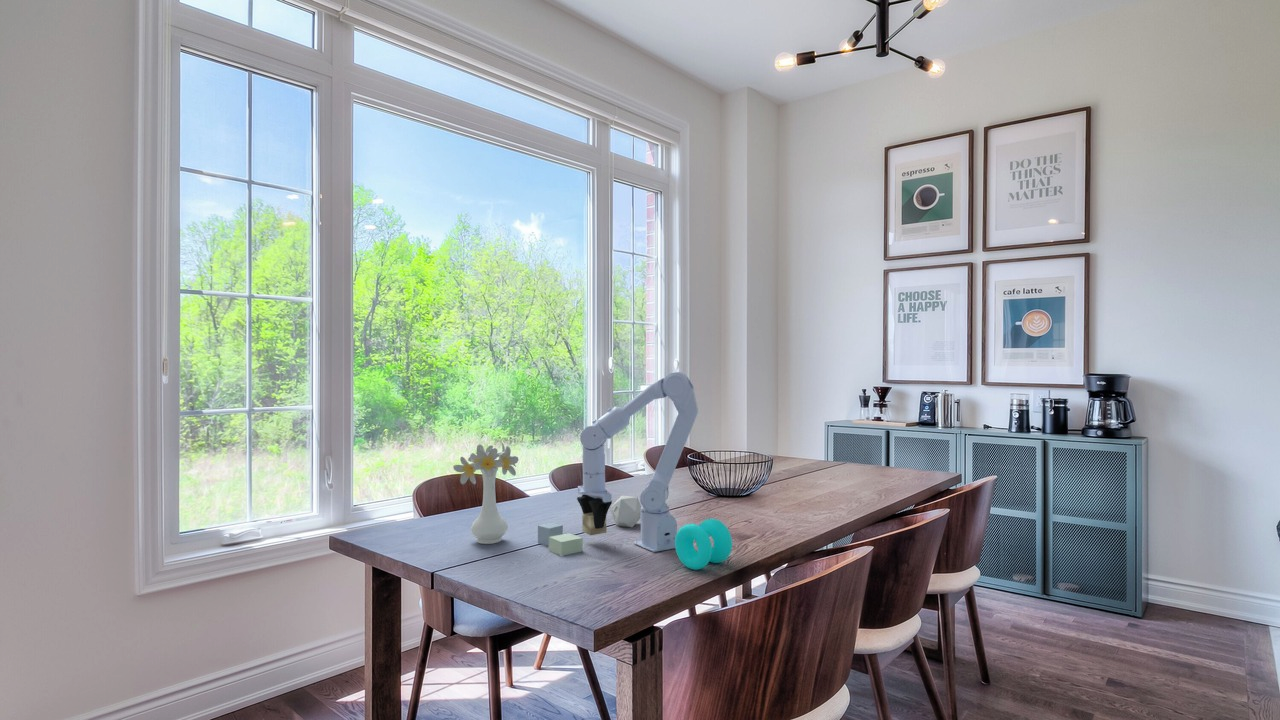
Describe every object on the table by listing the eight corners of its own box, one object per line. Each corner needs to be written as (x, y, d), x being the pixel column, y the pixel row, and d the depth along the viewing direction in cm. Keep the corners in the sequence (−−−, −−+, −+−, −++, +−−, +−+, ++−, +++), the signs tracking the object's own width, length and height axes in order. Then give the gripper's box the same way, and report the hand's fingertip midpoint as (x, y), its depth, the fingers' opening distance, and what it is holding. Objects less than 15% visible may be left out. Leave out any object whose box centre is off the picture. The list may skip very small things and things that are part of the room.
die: (612, 523, 194) (601, 499, 189) (638, 506, 196) (627, 482, 191) (626, 540, 187) (614, 516, 182) (652, 522, 190) (641, 498, 184)
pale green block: (582, 552, 163) (582, 537, 163) (561, 556, 159) (561, 541, 159) (569, 547, 168) (569, 533, 168) (548, 551, 164) (548, 536, 164)
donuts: (734, 565, 151) (734, 521, 151) (705, 575, 144) (705, 529, 144) (701, 556, 158) (701, 514, 158) (672, 565, 151) (672, 521, 151)
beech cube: (606, 532, 169) (606, 515, 169) (590, 535, 167) (590, 517, 167) (598, 529, 173) (597, 511, 173) (582, 531, 171) (582, 514, 171)
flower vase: (447, 549, 165) (446, 448, 165) (485, 531, 183) (485, 440, 183) (493, 553, 161) (493, 450, 161) (528, 535, 179) (528, 441, 179)
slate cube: (562, 542, 171) (562, 525, 171) (549, 546, 168) (549, 528, 168) (551, 539, 174) (551, 522, 174) (537, 543, 171) (537, 525, 171)
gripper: (567, 470, 174) (567, 522, 174) (593, 478, 162) (594, 534, 162) (591, 468, 178) (591, 519, 178) (618, 475, 166) (619, 529, 165)
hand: (594, 526), depth 170 cm, fingers closed on beech cube, 4 cm apart
